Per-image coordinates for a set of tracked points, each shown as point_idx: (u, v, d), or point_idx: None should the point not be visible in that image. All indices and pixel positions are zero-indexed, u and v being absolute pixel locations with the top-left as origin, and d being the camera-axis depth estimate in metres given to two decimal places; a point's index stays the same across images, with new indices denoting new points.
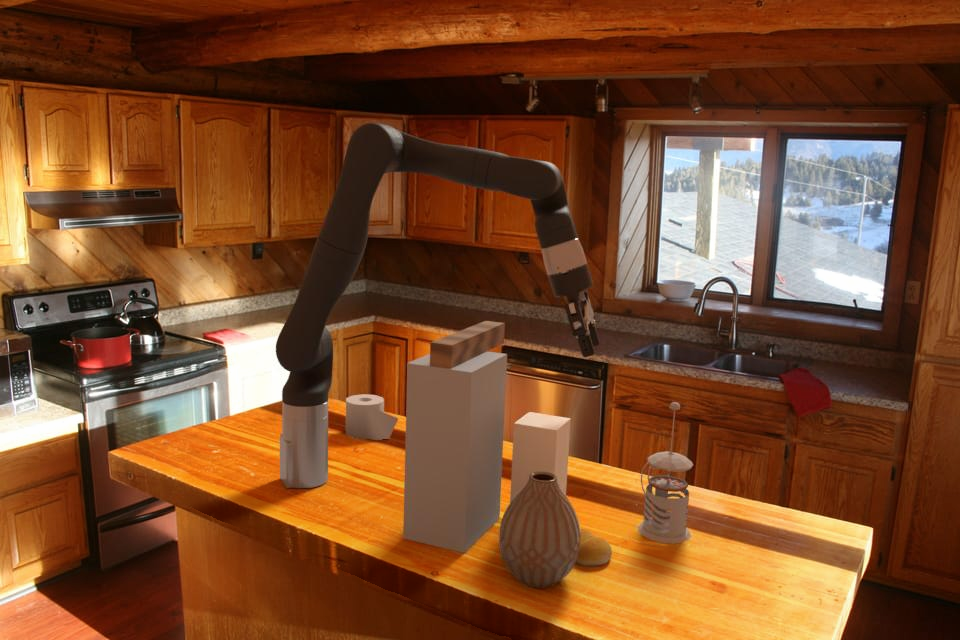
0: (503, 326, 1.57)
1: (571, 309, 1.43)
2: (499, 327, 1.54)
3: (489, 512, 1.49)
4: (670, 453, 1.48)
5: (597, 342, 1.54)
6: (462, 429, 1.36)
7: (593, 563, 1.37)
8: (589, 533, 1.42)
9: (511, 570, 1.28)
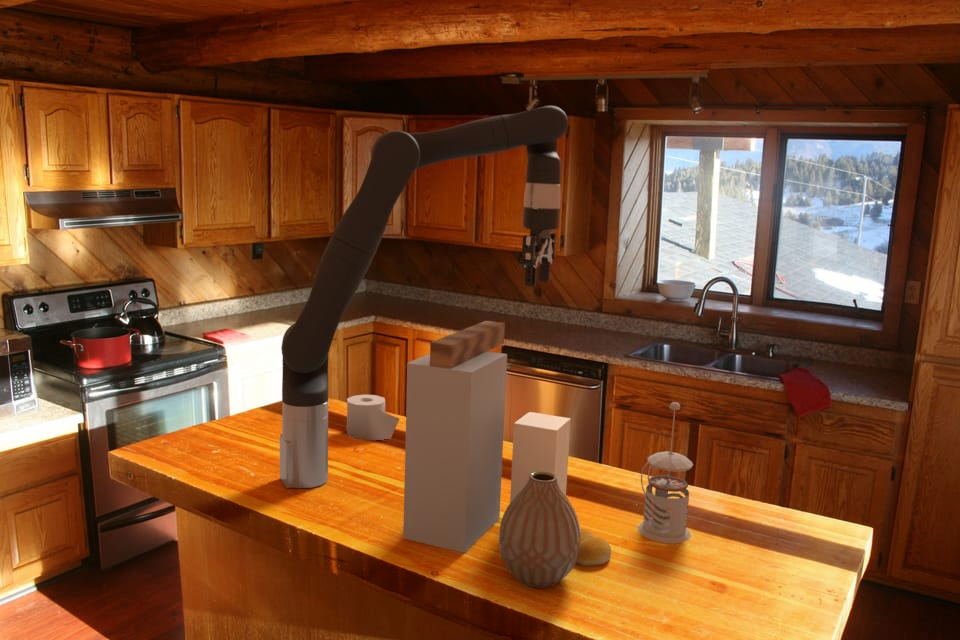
0: (503, 326, 1.57)
1: (527, 241, 1.63)
2: (499, 327, 1.54)
3: (489, 512, 1.49)
4: (670, 453, 1.48)
5: (547, 279, 1.74)
6: (462, 429, 1.36)
7: (592, 563, 1.37)
8: (588, 533, 1.42)
9: (511, 570, 1.28)
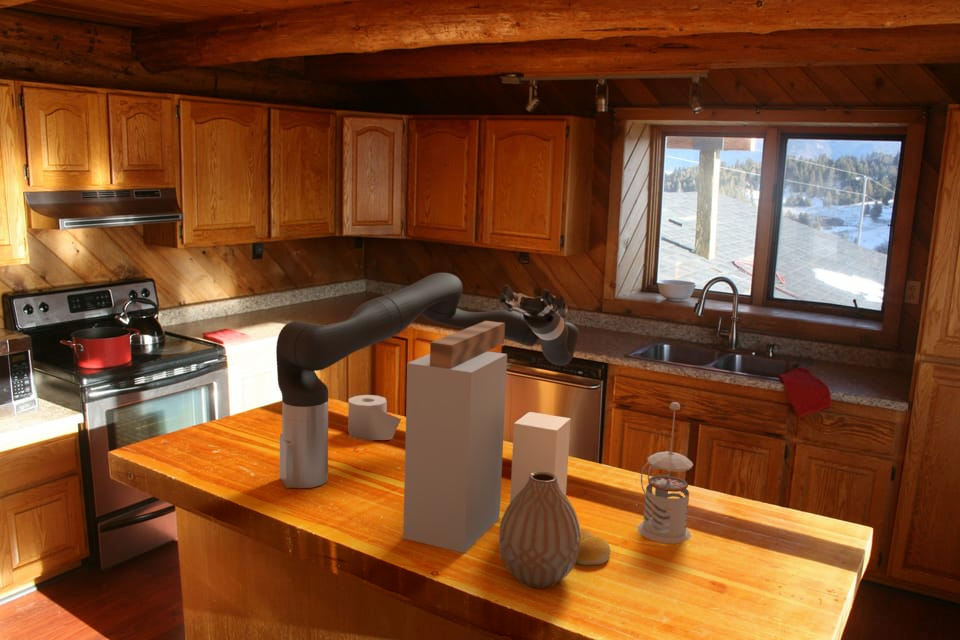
0: (503, 326, 1.57)
1: None
2: (499, 327, 1.54)
3: (489, 512, 1.49)
4: (670, 453, 1.48)
5: None
6: (462, 429, 1.36)
7: (592, 562, 1.37)
8: (588, 532, 1.42)
9: (511, 570, 1.28)
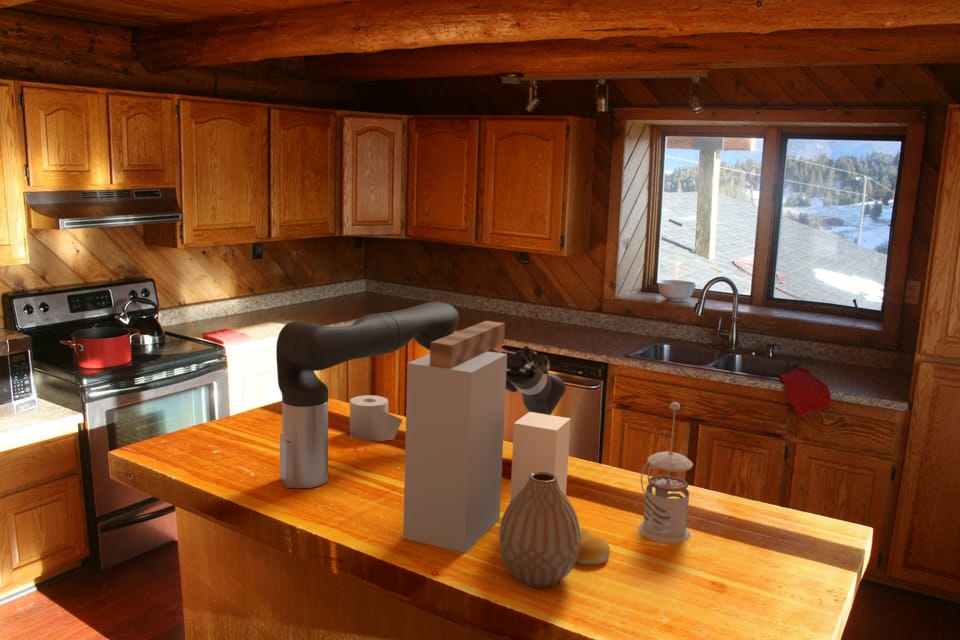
0: (503, 326, 1.57)
1: None
2: (499, 327, 1.54)
3: (489, 512, 1.49)
4: (670, 453, 1.48)
5: None
6: (462, 429, 1.36)
7: (591, 562, 1.37)
8: (587, 532, 1.42)
9: (511, 570, 1.28)
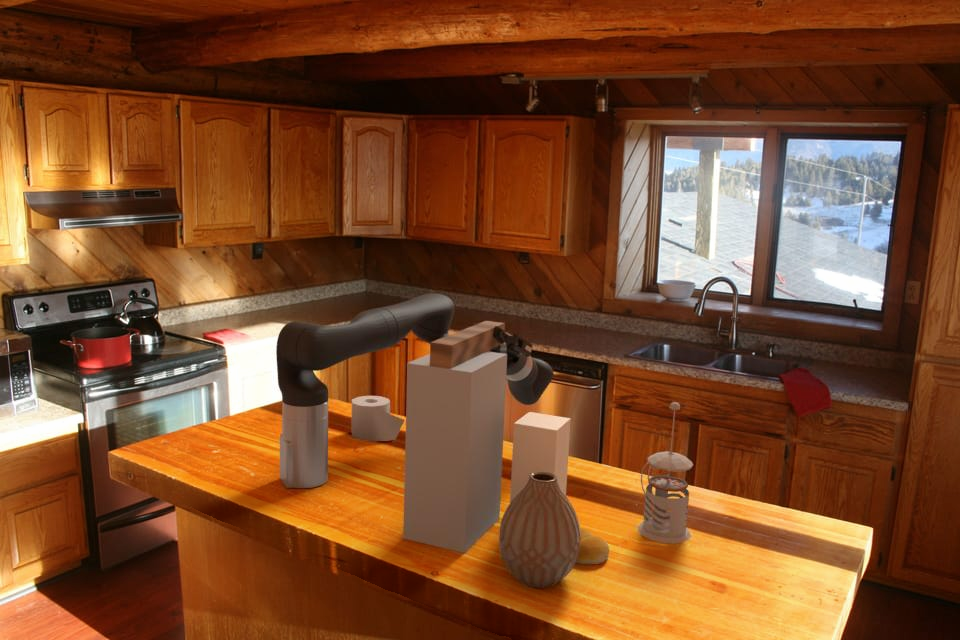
0: (503, 326, 1.57)
1: None
2: None
3: (489, 512, 1.49)
4: (670, 453, 1.48)
5: None
6: (462, 429, 1.36)
7: (590, 562, 1.37)
8: (586, 532, 1.43)
9: (511, 570, 1.28)
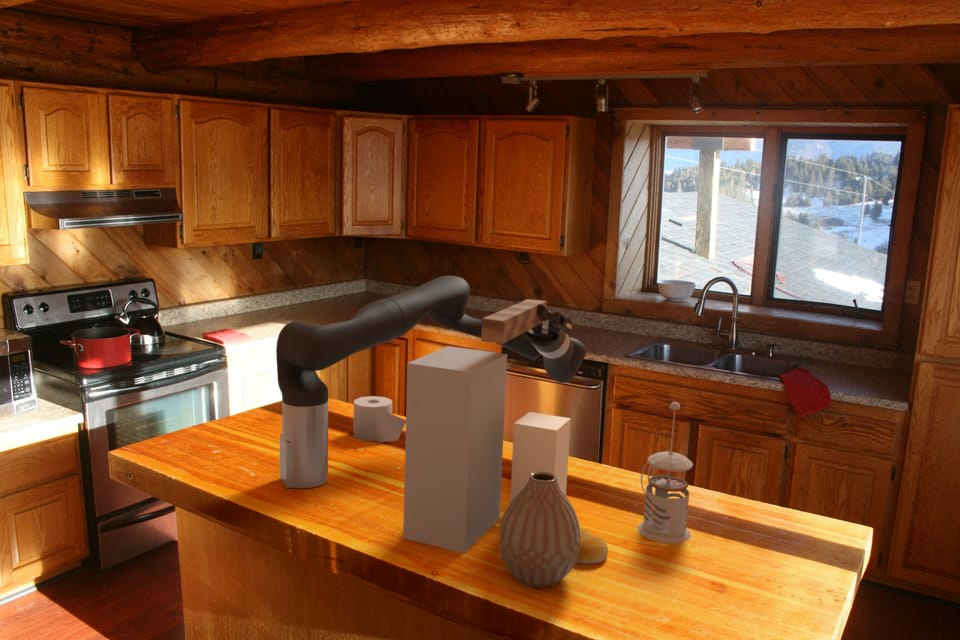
0: (545, 304, 1.61)
1: None
2: None
3: (489, 512, 1.49)
4: (670, 453, 1.48)
5: None
6: (462, 429, 1.36)
7: (589, 561, 1.37)
8: (585, 532, 1.43)
9: (511, 570, 1.28)
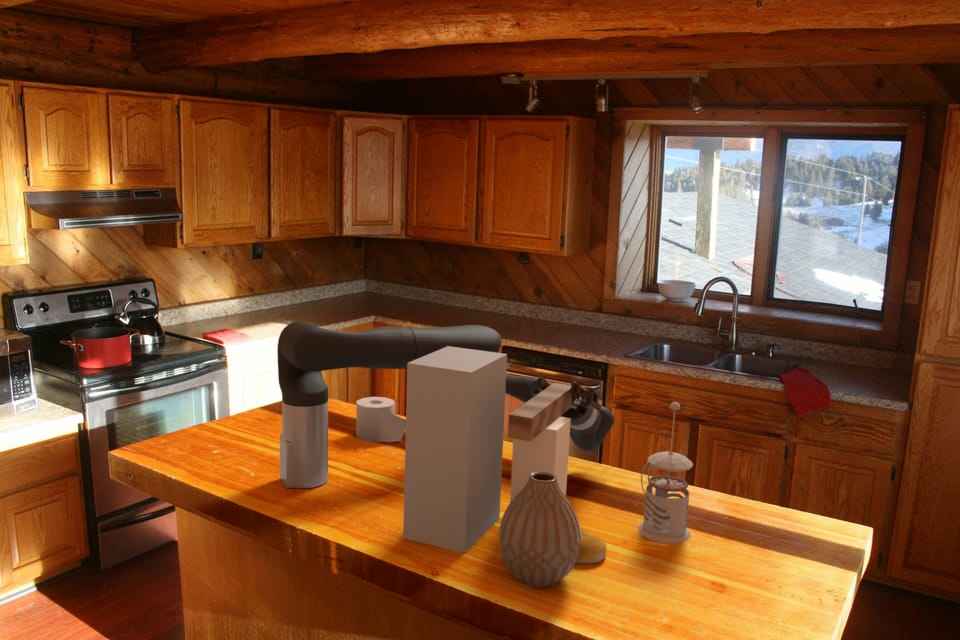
0: None
1: None
2: (569, 390, 1.53)
3: (489, 512, 1.49)
4: (670, 453, 1.48)
5: None
6: (462, 429, 1.36)
7: (588, 561, 1.37)
8: (584, 531, 1.43)
9: (511, 570, 1.28)
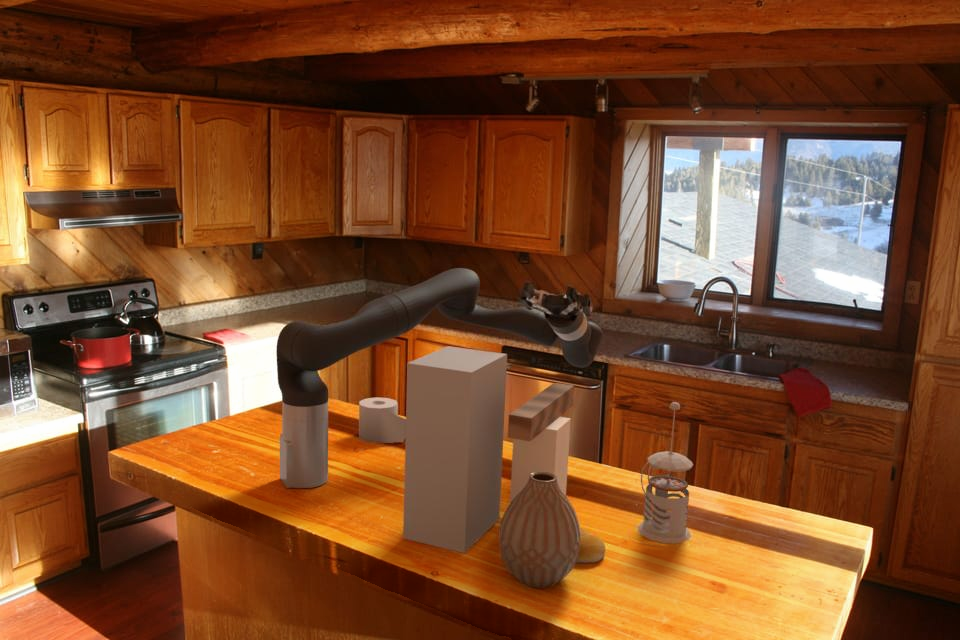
0: (573, 389, 1.55)
1: None
2: (569, 390, 1.53)
3: (489, 512, 1.49)
4: (670, 453, 1.48)
5: None
6: (462, 429, 1.36)
7: (586, 560, 1.38)
8: (583, 531, 1.43)
9: (511, 570, 1.28)
